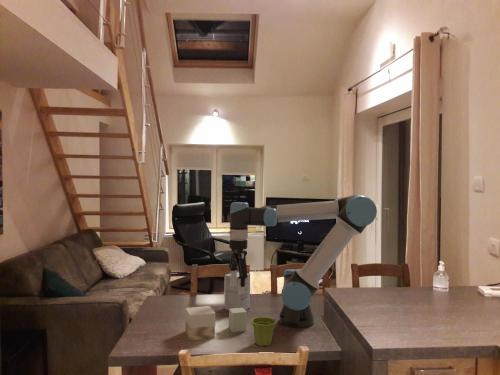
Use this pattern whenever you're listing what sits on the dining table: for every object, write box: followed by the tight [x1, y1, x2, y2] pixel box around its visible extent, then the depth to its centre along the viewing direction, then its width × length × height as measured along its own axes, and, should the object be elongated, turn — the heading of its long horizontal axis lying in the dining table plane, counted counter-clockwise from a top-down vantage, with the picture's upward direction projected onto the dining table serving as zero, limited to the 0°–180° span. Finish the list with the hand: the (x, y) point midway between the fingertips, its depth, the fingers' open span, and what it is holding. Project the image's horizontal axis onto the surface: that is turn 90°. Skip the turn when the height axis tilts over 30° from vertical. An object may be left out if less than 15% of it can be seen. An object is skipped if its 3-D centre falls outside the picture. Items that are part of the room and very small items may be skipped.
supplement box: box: [224, 271, 251, 311], centre depth 196 cm, size 10×9×17 cm
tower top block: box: [184, 305, 216, 329], centre depth 162 cm, size 10×10×5 cm
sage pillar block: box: [228, 308, 248, 333], centre depth 169 cm, size 6×6×8 cm
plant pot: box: [251, 316, 277, 347], centre depth 154 cm, size 9×9×9 cm
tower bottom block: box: [185, 321, 216, 342], centre depth 162 cm, size 10×10×5 cm
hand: (237, 290), depth 168 cm, fingers open, 13 cm apart
